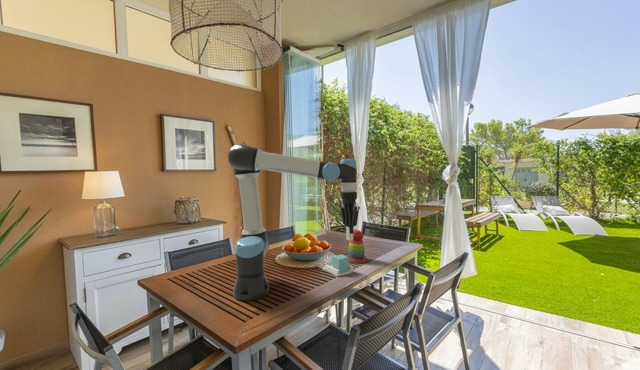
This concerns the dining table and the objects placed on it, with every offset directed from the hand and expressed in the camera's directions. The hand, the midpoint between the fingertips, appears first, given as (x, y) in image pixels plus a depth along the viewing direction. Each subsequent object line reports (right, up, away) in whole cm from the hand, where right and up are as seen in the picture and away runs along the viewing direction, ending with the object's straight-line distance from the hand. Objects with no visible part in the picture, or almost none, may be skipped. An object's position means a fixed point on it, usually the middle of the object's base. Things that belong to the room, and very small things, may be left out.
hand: (349, 239), depth 138 cm
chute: (-7, -18, +13) cm, 23 cm away
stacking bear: (+7, -17, +26) cm, 32 cm away
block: (-4, -18, +8) cm, 20 cm away
